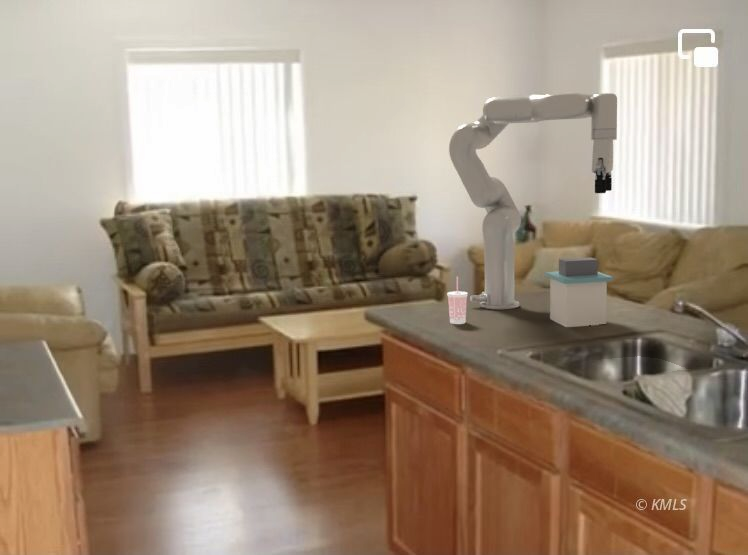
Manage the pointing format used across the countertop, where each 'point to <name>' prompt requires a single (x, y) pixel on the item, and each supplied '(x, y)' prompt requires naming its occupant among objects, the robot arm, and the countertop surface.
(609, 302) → the countertop surface
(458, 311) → the beverage cup
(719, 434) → the countertop surface
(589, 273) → the teal lid
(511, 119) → the robot arm
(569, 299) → the off-white crate
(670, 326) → the countertop surface
